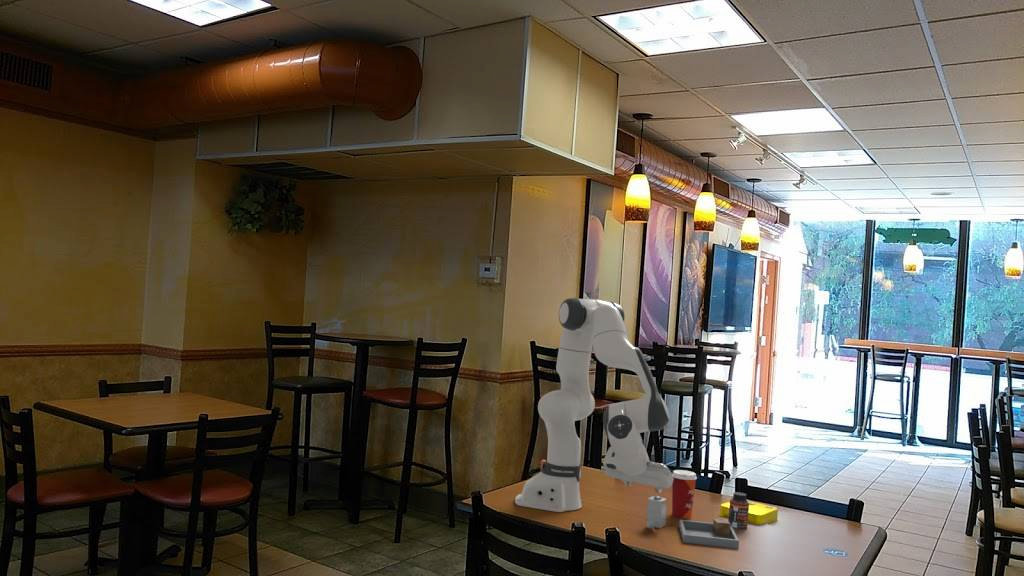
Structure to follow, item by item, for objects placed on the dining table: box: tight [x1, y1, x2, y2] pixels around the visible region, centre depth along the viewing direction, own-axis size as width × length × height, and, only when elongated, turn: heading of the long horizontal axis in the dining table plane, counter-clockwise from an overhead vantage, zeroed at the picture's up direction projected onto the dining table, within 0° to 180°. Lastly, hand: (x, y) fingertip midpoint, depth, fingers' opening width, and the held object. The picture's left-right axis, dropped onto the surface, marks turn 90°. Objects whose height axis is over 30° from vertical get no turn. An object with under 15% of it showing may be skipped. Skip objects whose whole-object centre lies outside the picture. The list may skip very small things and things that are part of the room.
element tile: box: [719, 499, 779, 525], centre depth 250 cm, size 15×15×5 cm
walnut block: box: [712, 518, 731, 537], centre depth 226 cm, size 4×4×4 cm
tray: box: [678, 519, 740, 549], centre depth 222 cm, size 16×16×3 cm
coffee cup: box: [671, 469, 698, 520], centre depth 244 cm, size 8×8×15 cm
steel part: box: [646, 495, 668, 530], centre depth 232 cm, size 4×4×10 cm
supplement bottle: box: [727, 491, 749, 531], centre depth 236 cm, size 6×6×11 cm
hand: (644, 487), depth 222 cm, fingers open, 8 cm apart
